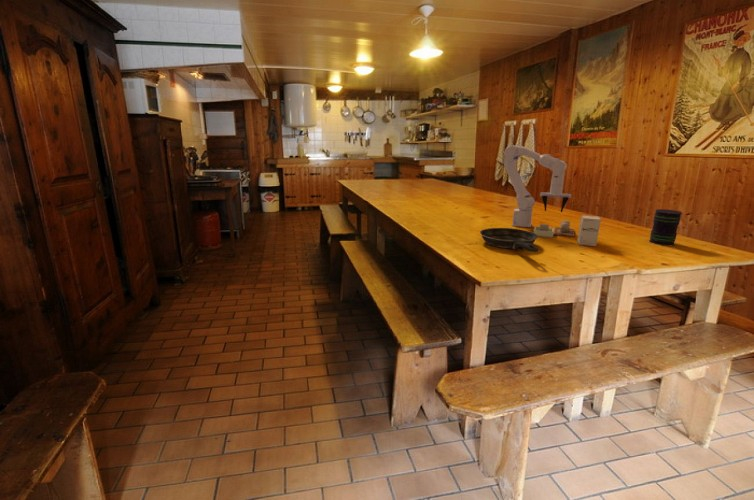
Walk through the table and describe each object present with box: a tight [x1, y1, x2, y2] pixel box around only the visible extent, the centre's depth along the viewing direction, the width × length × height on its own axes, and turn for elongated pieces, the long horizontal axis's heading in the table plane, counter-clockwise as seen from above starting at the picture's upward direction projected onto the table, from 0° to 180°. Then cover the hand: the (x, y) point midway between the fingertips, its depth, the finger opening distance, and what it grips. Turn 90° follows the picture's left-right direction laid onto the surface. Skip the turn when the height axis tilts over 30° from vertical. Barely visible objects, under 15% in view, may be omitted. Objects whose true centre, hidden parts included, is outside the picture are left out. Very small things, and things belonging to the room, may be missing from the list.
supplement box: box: [576, 214, 602, 247], centre depth 181 cm, size 7×7×13 cm
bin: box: [532, 226, 555, 239], centre depth 199 cm, size 9×9×3 cm
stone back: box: [560, 220, 571, 229], centre depth 207 cm, size 4×4×4 cm
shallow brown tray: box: [553, 226, 575, 238], centre depth 204 cm, size 9×16×1 cm, turn 155°
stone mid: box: [560, 222, 571, 233], centre depth 203 cm, size 4×4×4 cm
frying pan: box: [479, 227, 539, 253], centre depth 172 cm, size 44×25×7 cm, turn 179°
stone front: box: [539, 223, 550, 231], centre depth 198 cm, size 4×4×4 cm
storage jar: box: [649, 209, 682, 247], centre depth 184 cm, size 10×10×15 cm
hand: (553, 211), depth 207 cm, fingers open, 7 cm apart
